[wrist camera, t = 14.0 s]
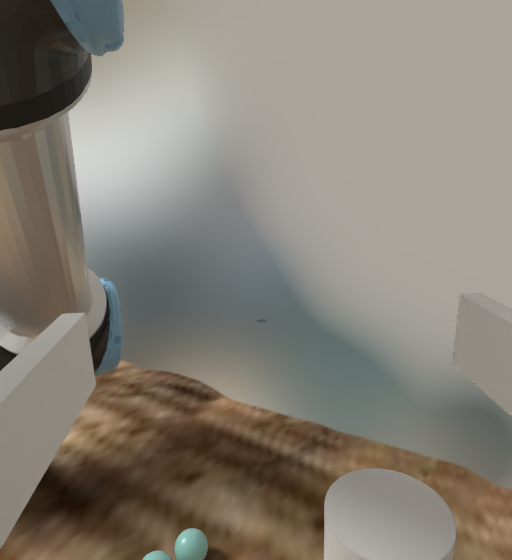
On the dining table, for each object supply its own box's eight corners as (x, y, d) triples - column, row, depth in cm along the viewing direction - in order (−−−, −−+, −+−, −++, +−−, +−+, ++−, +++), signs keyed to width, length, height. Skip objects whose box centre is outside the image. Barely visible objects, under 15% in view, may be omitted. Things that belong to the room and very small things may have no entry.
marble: (170, 557, 39) (167, 530, 38) (199, 540, 41) (197, 515, 40) (184, 582, 37) (181, 554, 36) (214, 564, 38) (212, 537, 38)
